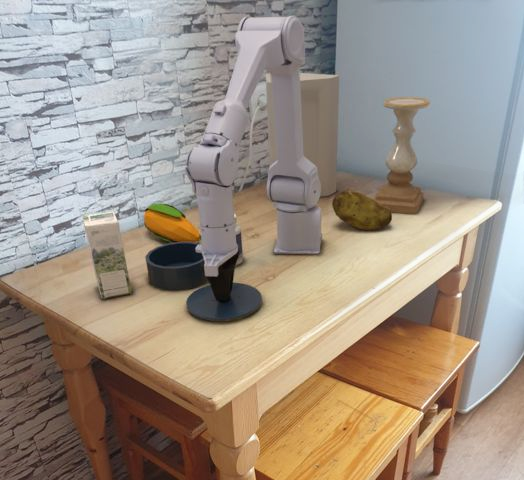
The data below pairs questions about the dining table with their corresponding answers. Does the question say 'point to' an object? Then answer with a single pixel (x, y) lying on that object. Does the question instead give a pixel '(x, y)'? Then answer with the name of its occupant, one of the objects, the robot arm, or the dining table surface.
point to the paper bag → (313, 125)
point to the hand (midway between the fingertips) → (223, 295)
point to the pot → (175, 266)
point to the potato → (361, 210)
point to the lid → (224, 303)
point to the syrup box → (107, 254)
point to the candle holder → (402, 159)
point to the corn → (170, 224)
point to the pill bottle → (238, 241)
